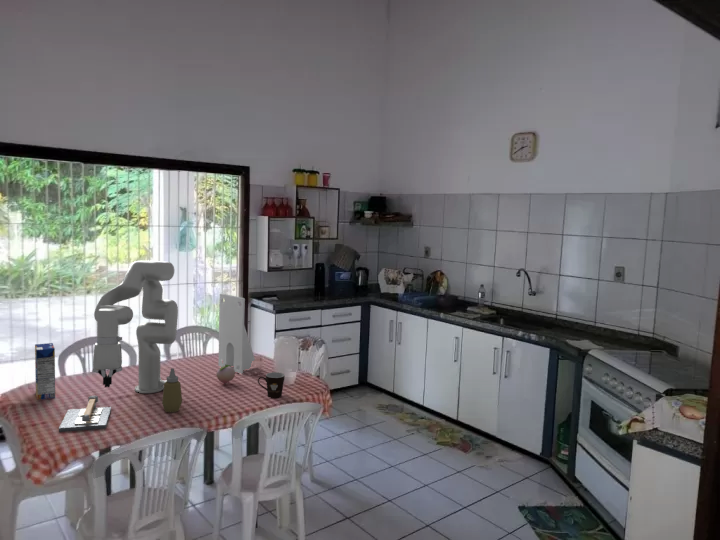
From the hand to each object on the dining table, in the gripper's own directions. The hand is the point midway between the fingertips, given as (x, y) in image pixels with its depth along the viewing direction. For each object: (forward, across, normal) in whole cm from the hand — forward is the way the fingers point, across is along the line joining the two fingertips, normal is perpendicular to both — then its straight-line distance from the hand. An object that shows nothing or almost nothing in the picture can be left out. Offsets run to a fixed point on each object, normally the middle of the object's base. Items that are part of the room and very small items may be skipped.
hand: (107, 386), depth 220 cm
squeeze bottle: (+14, -24, -8) cm, 29 cm away
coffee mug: (+14, -68, -19) cm, 72 cm away
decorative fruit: (+13, -49, -40) cm, 65 cm away
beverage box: (+14, +29, -38) cm, 49 cm away
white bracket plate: (+13, -59, -66) cm, 89 cm away
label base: (+14, +8, -4) cm, 17 cm away
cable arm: (+11, +7, -4) cm, 13 cm away
